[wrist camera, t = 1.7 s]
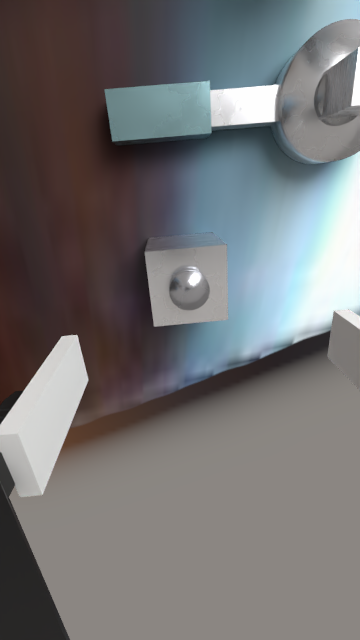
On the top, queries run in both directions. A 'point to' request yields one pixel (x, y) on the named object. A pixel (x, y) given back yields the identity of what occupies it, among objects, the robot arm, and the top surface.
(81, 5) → the top surface
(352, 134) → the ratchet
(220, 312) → the cube with chrome knob
